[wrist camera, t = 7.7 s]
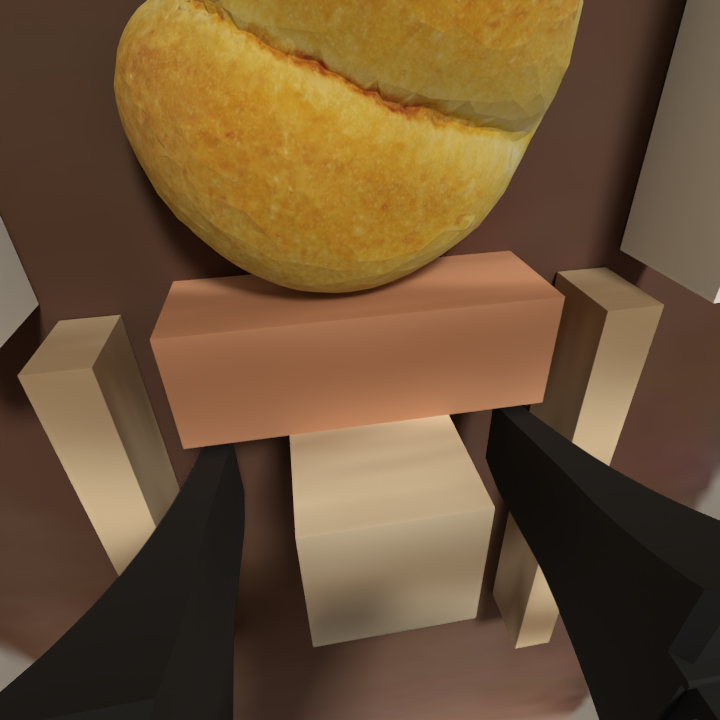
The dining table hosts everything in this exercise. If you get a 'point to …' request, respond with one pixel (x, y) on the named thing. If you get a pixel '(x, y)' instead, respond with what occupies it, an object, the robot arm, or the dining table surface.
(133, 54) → the bread roll
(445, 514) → the two-tone t block
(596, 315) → the slot rails
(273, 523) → the dining table surface
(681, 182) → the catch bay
